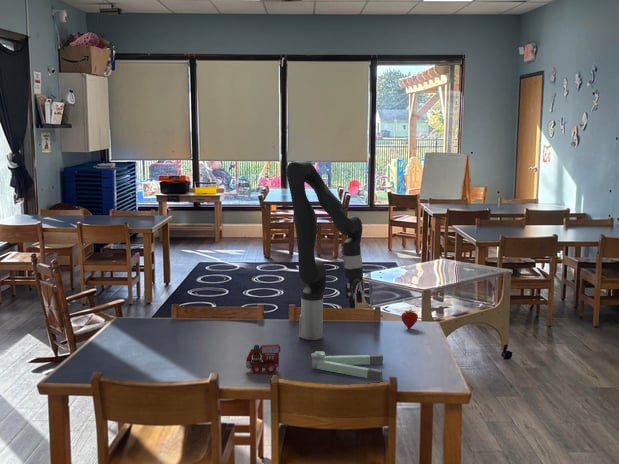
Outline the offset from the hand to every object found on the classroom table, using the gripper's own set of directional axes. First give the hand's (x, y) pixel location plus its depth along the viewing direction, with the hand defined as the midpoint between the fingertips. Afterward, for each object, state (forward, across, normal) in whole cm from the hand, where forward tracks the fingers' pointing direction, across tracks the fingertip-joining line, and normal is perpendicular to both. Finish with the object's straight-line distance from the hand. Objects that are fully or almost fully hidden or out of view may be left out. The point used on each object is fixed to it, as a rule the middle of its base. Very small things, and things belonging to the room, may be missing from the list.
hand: (356, 305), depth 285 cm
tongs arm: (+18, +21, +3) cm, 28 cm away
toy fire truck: (+16, +40, -24) cm, 49 cm away
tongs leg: (+19, +28, +5) cm, 34 cm away
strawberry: (+20, -35, +11) cm, 42 cm away
